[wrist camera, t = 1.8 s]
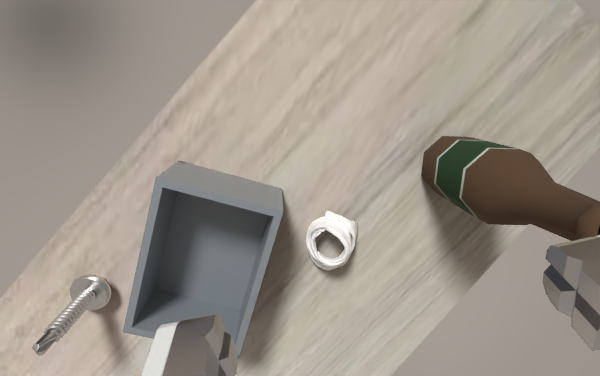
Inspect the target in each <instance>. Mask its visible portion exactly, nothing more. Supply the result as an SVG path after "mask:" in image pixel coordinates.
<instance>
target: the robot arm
mask: <svg viewBox="0 0 600 376" xmlns="http://www.w3.org/2000/svg"><path fill="white" fill-rule="evenodd" d="M546 259H547V260H548V262H549V263H550V264H551V265H550V266H549V267H548V268H547V269H546V270H545V271H544V275H543V285H544V288H545V292H546V295H547V296H548V298H549V300H550V302H551V303H552V304H553V305H554V307H555V308H556V309H557V310H558V311H560V312H562V313H564V314H566V315H568V316H570V317H571V327H572V328H573V329H574V330H575V332H576V333H577V334H578V335H579V336H580V337H581V339H582V340H583V341H584V342H585V343H586V344H587V346H588V347H589V348H590V349H591V350H592V351H594V350H600V235H598V236H594V237H588V238H583V239H579V240H574V241H570V242H565V243H560V244H556V245H551V246H550V247H549V248H548V250H547V253H546ZM224 330H225V322H224V320H223V318H222V316H221V315H218V314H216V315H211V316H205V317H200V318H194V319H188V320H183V321H179V322H174V323H168V324H163V325H161V326H160V327H159V328H158V329H157V331H156V334H155V337H154V340H153V343H152V346H151V348H150V351H149V354H148V357H147V360H146V363H145V366H144V369H143V372H142V374H141V376H235V374H236V370H237V354H236V347H235V344H234V341H233V338H232V336H231V335H230V334H228V333H226V332H224Z"/></svg>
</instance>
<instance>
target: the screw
mask: <svg viewBox="0 0 600 376" xmlns="http://www.w3.org/2000/svg"><path fill="white" fill-rule="evenodd" d="M70 295H71V298H72V300H73V301H72V302H71V303H70V304H69V305H68V306H67V307H66V308H65V309H64V310H63V311H62V312H61V314H59V315H58V317H56V318H55V320H53V321H52V323H51V324H50V325H49V326H48V327H47V328H46V330H45V332H44V335H43V336H42V337H41V338H40V339H39V340H38V341H37V342H36V343H35V344H34V345H33V347H32V349H33V350H34V351H35V352H36V354H38V355H43V354H45V352H46V351H47V350H48V349H49V348H50V347H51V346H52V344H53V343H54V342H57V341H58V340H59V339H60V338H62V337H63V336H64V334H66V333H67V331H68V330H69V329H70V327H72V325H73V324H74V323H75V322H76V321H77V320H78V318H79V317H80V316H81V315H82V314H83V312H85V311H86V310H98V309H101V308H103V307H104V306H105V305H106V304H107V303H108V302H109V300H110V298H111V288H110V286H109V284H108V283H107V282H106V280H105V278H102V277H99V276H96V275H83V276H81V277H79V278H77V279H76V280H75V281H74V282H73V283H72V285H71V288H70Z"/></svg>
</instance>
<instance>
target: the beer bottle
mask: <svg viewBox="0 0 600 376" xmlns="http://www.w3.org/2000/svg"><path fill="white" fill-rule="evenodd" d="M422 176H423V177H424V178H425V179H426V181H427V182H428V183H429V184H430V185H431V186H432V188H433V189H434V190H435V191H436V192H437V193H439V194H440V195H441V196H443V197H444V198H446V199H448V200H449V201H451V202H452V203H454V204H455V205H457V206H459V207H460V208H462V209H463V210H465V211H467V212H468V213H470V214H471V215H473V216H474V217H476V218H478V219H480V220H482V221H484V222H486V223H488V224H499V225H528V224H533V225H535V226H538V227H540V228H543V229H545V230H547V231H549V232H552V233H554V234H557V235H559V236H561V237H564V238H566V239H569V240H571V241H574V240H579V239H583V238H588V237H594V236H598V235H600V202H599V201H597V200H594V199H592V198H590V197H588V196H585V195H583V194H581V193H578V192H576V191H574V190H571V189H569V188H566V187H564V186H562V185H559V184H557V183H555V182H554V181H553V179H552V178H551V177H550V175H549V174H548V173H547V171H546V170H545V169H544V167H543V166H542V165H541V163H540V162H539V161H538V160H537V159H536V158H535V157H534V156H533V155H532V154H531V153H529V152H526V151H523V150H521V149H517V148H513V147H509V146H504V145H500V144H496V143H492V142H488V141H483V140H479V139H475V138H470V137H450V136H442V137H441V138H440V139H439V140H438V141H436V142H435V143H434V144H433V145H432V146H431V147H430V148H429V149H427V150H426V151H425V152H424V159H423V167H422Z"/></svg>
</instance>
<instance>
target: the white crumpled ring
mask: <svg viewBox="0 0 600 376" xmlns="http://www.w3.org/2000/svg"><path fill="white" fill-rule="evenodd" d="M357 228H358V223H356V222H355V221H351V220H348V219H347V218H345V217H343V216H341V215H337V214H335V213H333V212H330V211H327V212H326V214H325V217H321V218H318V219H317V220H315V221H314V222H313V223H312V224H311V225H310V226H309V229H308V232H307V235H306V246H307V250H308V252H309V255H310V257H311V259H312V260H313V262H314V263H315V264H316V265H317V266H318V267H320V268H321V269H324V270H333V269H336V268H338V267H341V266H343V265H345V263H346V262H347V261H348V259H349V257H350V256H351V253H352V251H353V249H354V247H355V240H356V237H357ZM325 230H327V231H328V232H330V233H332V234H333V235H334V236H336V237H337V238H338V239H339V240H340V241H341V242H342V244H343V245H344V250H343V252H342V253H341V254H340V255H339V256H338V257H336V258H328V257H325V256H323V255H322V254H321V253H320V252H317V248H316V242H315V238H316V237H318V236H319V235H320V233H321V232H324V231H325ZM351 234H352V237H351Z"/></svg>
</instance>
